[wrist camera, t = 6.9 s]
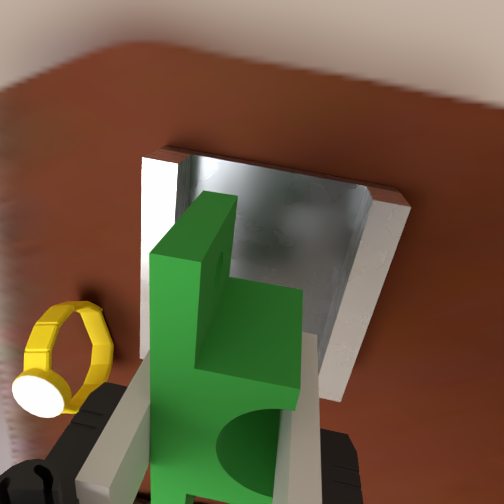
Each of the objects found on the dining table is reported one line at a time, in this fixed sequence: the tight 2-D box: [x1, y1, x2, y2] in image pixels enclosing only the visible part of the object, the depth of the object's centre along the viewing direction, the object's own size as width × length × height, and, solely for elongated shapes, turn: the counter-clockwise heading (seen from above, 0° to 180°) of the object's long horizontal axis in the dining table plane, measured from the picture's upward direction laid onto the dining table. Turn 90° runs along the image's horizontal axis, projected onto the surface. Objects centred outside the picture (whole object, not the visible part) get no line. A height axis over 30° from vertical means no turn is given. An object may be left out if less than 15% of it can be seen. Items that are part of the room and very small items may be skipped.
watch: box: [12, 301, 114, 418], centre depth 21 cm, size 6×3×6 cm, turn 8°
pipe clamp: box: [149, 190, 303, 504], centre depth 12 cm, size 11×4×5 cm, turn 173°
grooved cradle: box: [140, 146, 411, 402], centre depth 19 cm, size 11×11×3 cm
